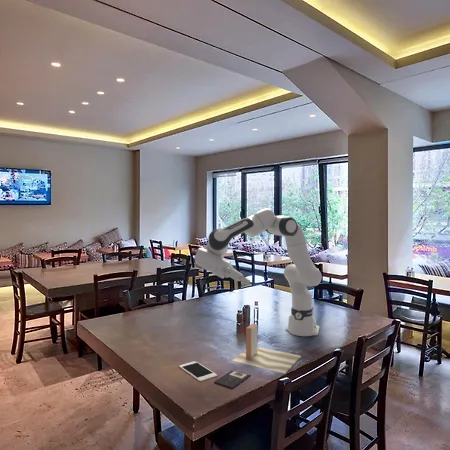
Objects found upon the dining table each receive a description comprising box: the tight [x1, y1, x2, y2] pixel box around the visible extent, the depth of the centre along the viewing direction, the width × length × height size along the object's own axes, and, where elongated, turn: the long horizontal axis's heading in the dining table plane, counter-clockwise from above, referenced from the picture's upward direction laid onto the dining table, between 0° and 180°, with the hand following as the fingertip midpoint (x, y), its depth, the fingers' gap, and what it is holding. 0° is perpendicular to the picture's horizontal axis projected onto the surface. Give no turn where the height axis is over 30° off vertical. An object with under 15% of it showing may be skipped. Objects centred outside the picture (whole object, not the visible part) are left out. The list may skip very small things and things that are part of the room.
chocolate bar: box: [213, 370, 252, 390], centre depth 152 cm, size 9×1×18 cm
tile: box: [245, 323, 259, 358], centre depth 175 cm, size 7×3×14 cm, turn 150°
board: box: [231, 346, 302, 376], centre depth 171 cm, size 22×26×1 cm
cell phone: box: [178, 360, 218, 383], centre depth 158 cm, size 9×18×1 cm, turn 36°
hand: (249, 282), depth 175 cm, fingers open, 8 cm apart
